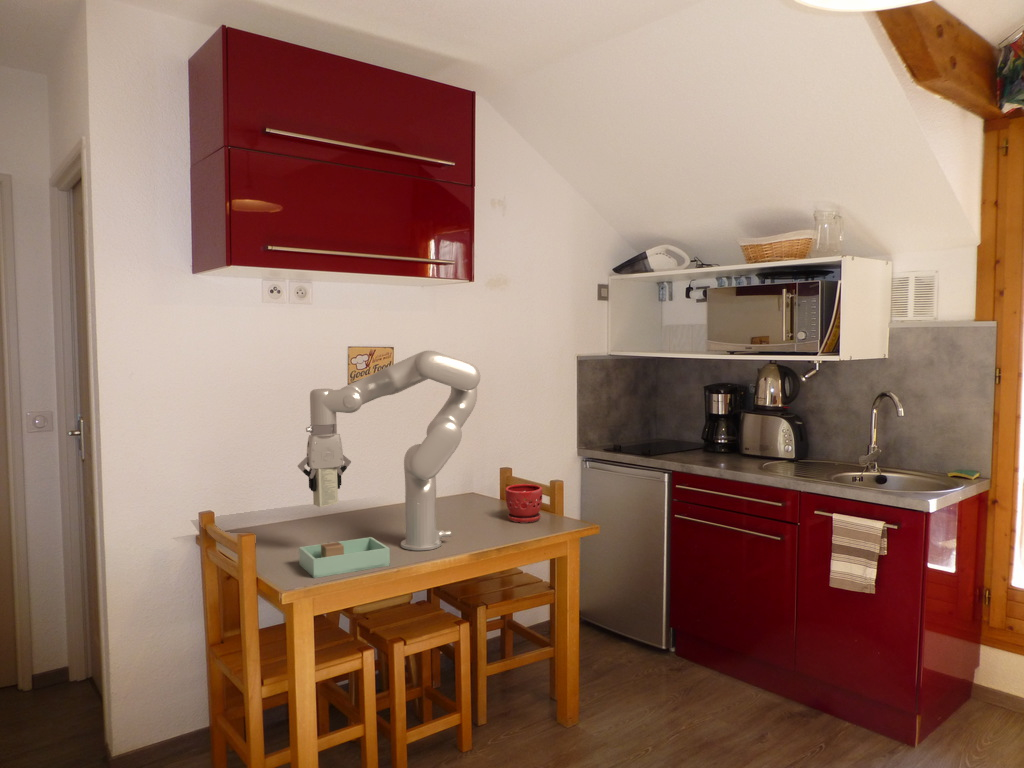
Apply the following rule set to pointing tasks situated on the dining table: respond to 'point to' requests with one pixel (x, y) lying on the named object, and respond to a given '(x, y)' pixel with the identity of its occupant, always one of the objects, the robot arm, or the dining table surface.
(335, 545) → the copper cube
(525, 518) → the plant pot
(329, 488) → the skincare box
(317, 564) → the tote
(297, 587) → the dining table surface
